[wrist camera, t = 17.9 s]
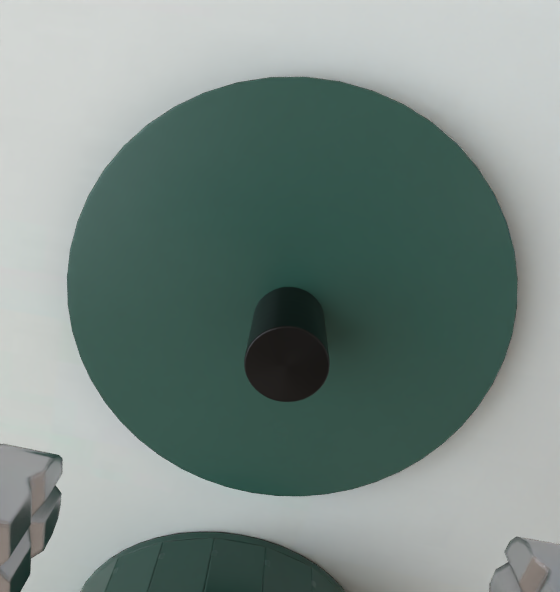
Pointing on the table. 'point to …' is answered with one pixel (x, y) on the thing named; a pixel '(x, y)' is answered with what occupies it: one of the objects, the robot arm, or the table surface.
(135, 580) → the pot
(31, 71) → the table surface
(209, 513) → the table surface
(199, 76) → the table surface
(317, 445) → the lid
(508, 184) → the table surface
